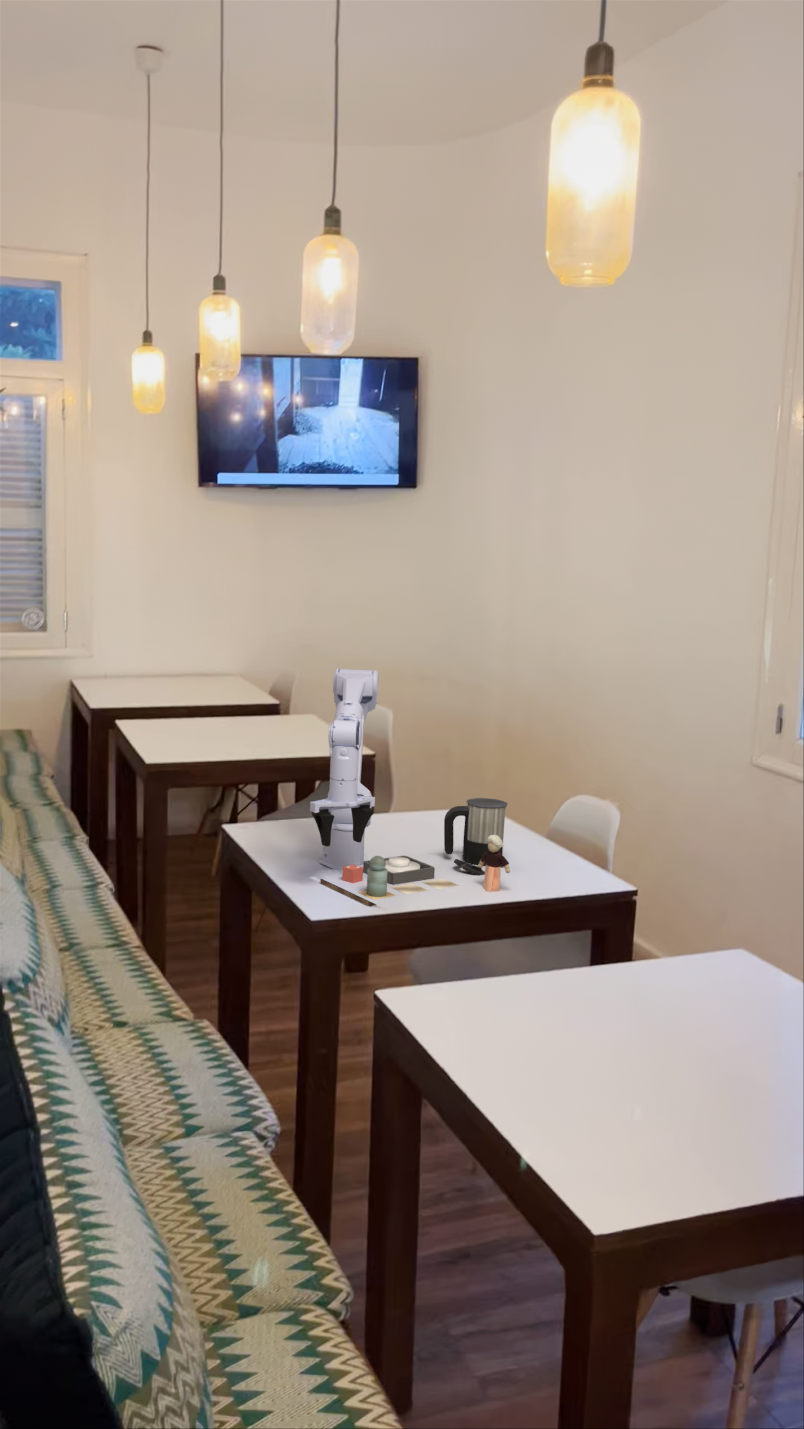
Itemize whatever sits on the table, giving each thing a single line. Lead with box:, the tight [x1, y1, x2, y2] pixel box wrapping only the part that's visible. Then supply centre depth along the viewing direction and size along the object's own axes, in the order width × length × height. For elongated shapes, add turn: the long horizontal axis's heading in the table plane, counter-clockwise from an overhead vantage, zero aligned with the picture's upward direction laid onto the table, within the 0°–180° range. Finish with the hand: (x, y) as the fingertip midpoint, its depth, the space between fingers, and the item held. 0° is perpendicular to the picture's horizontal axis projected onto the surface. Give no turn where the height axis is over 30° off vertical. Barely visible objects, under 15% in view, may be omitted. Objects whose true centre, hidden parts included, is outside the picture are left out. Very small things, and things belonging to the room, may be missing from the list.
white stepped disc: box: [385, 856, 420, 873], centre depth 253 cm, size 9×9×3 cm
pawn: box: [366, 855, 388, 897], centre depth 238 cm, size 4×4×8 cm
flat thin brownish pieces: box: [320, 878, 460, 907], centre depth 248 cm, size 18×24×1 cm
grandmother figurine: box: [477, 835, 511, 893], centre depth 244 cm, size 8×4×13 cm, turn 62°
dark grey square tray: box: [362, 855, 436, 886], centre depth 253 cm, size 11×11×2 cm
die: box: [341, 865, 364, 884], centre depth 248 cm, size 3×3×3 cm
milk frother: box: [443, 797, 508, 876], centre depth 263 cm, size 14×16×15 cm
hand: (341, 843), depth 245 cm, fingers open, 7 cm apart
